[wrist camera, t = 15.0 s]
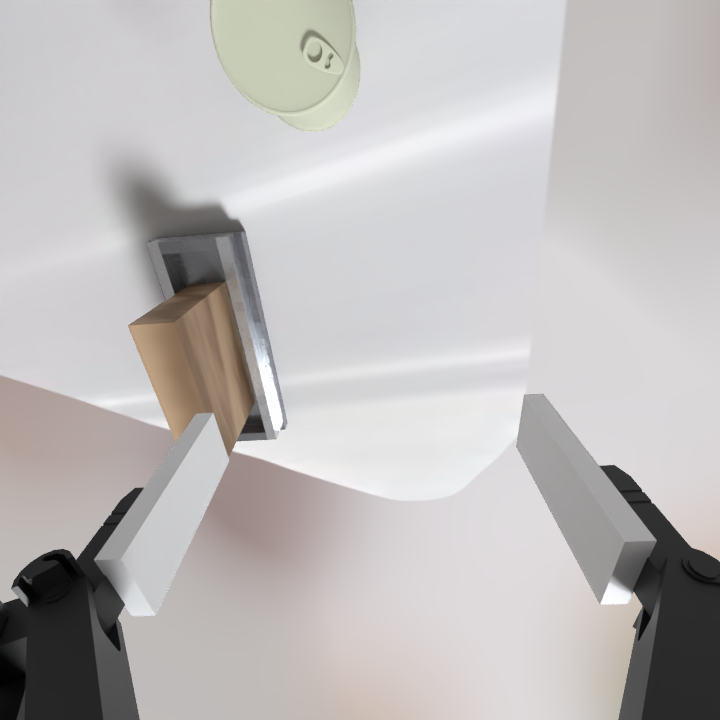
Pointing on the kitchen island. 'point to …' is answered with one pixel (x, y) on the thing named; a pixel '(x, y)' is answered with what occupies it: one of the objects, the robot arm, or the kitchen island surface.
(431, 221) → the kitchen island surface
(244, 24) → the can
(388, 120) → the kitchen island surface
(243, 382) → the door panel
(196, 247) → the door track
